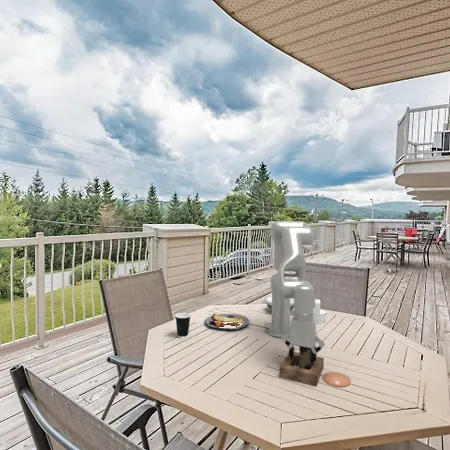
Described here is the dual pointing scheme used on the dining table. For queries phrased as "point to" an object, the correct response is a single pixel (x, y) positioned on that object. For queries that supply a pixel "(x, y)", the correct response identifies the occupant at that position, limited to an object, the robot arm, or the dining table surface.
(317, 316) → the cylinder with rectangular tab
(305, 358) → the mug
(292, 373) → the frame
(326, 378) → the peach smooth round part
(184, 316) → the dixie cup
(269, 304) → the bowl
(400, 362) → the dining table surface
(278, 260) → the robot arm
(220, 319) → the food plate
